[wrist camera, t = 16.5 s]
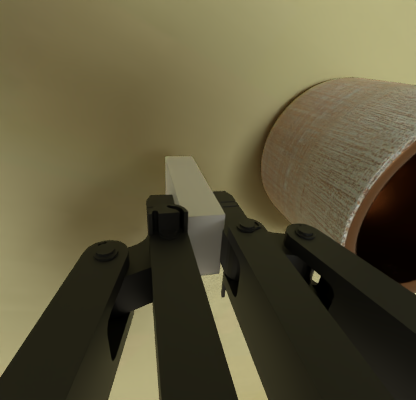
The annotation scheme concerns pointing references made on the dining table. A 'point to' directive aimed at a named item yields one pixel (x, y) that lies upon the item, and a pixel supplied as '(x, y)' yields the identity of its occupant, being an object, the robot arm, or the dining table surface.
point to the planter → (350, 169)
